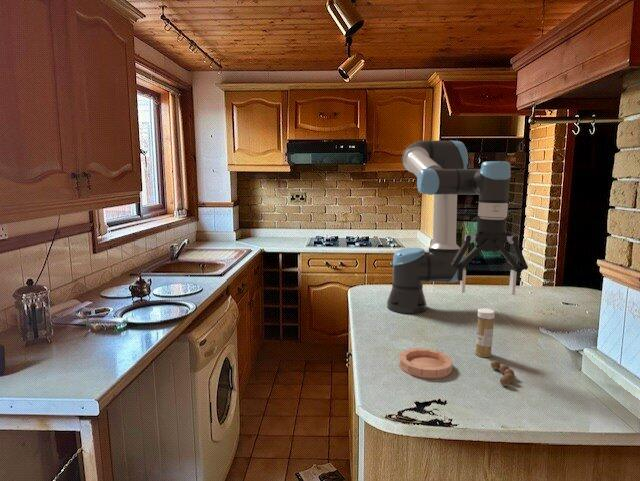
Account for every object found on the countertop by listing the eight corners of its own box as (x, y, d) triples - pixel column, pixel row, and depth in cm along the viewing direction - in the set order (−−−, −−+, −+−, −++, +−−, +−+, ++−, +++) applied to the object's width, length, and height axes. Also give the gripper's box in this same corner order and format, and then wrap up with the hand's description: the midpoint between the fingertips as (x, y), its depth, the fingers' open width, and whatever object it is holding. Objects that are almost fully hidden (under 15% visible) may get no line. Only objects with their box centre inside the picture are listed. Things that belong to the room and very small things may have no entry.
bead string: (487, 366, 116) (488, 358, 115) (506, 367, 115) (506, 359, 115) (501, 387, 104) (502, 378, 104) (521, 389, 104) (522, 379, 103)
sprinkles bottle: (472, 351, 126) (475, 307, 124) (487, 351, 126) (490, 307, 124) (479, 358, 121) (482, 312, 119) (494, 357, 122) (498, 312, 120)
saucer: (397, 354, 123) (397, 347, 123) (446, 357, 122) (446, 349, 121) (401, 377, 109) (401, 368, 109) (457, 380, 108) (457, 371, 108)
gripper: (448, 218, 115) (444, 294, 118) (545, 220, 112) (538, 297, 116) (443, 215, 122) (439, 287, 126) (534, 217, 120) (527, 290, 123)
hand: (486, 292), depth 121 cm, fingers open, 13 cm apart
